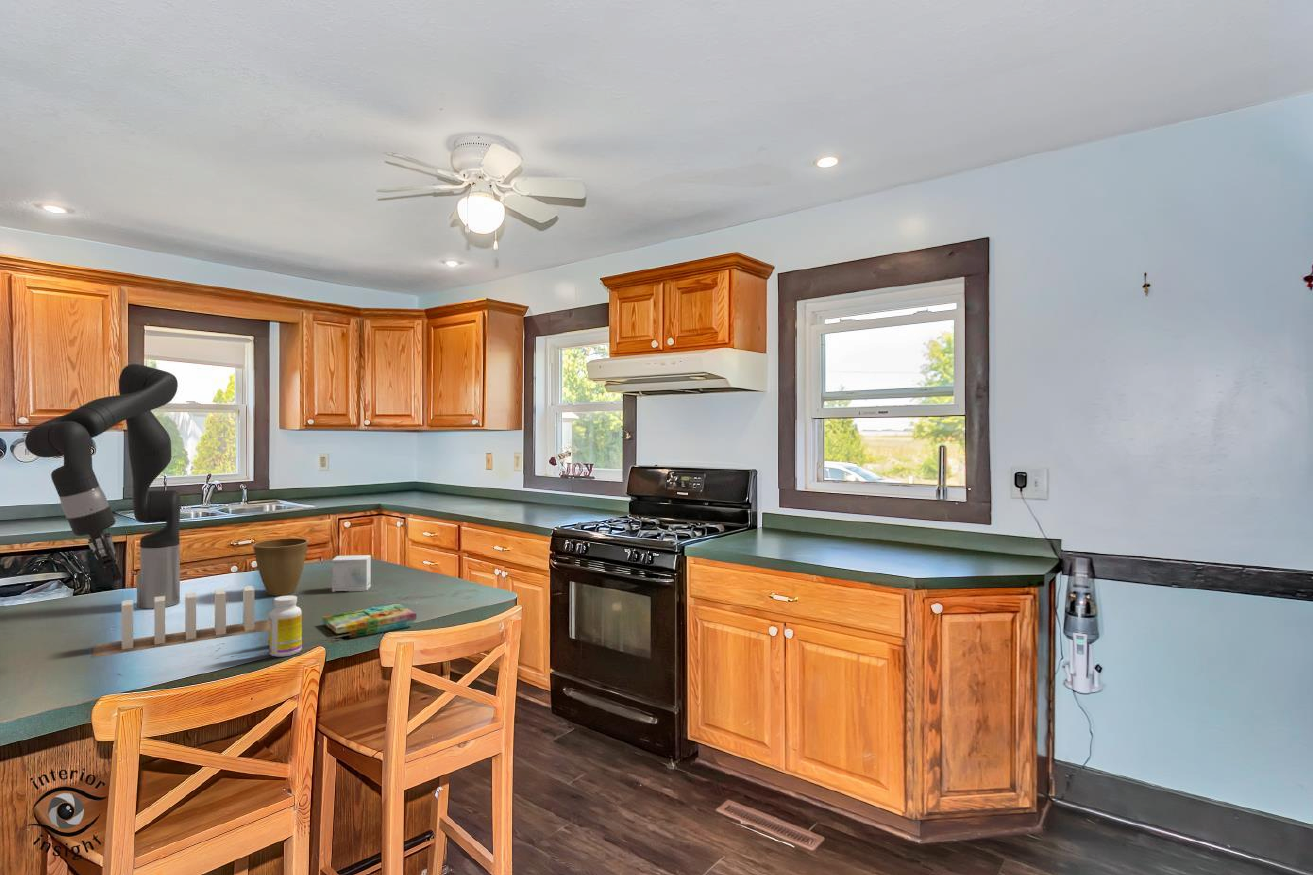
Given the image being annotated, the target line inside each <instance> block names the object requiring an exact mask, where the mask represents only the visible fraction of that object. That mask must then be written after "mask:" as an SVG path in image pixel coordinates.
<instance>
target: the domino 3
mask: <svg viewBox="0 0 1313 875" xmlns="http://www.w3.org/2000/svg"><path fill="white" fill-rule="evenodd" d="M184 594H185V595H184V596H185V598H184V599H185V600H184V603H185V605H184V606H185V607H184V608H185V611H184V612H185V614H184V615H185V619H184V621H185V622H184V624H185V630H184V632H185V635H186V640H188V639H195V638H196V630H197V593H196V592H188V593H184Z"/></svg>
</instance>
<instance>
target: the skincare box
mask: <svg viewBox="0 0 1313 875" xmlns="http://www.w3.org/2000/svg"><path fill="white" fill-rule="evenodd" d="M371 563H372V555H370V554H367V555H366V554H365V555H363V554H360V555H359V554H358V555H355V554H354V555H336V556H335V557H334V558H332V560H331V592H332V593H336V592H335V591H349V592H367V591H368V590H369V589H370V587H371V586H372V583H371V572H372V571H371V570H372V564H371ZM366 590H367V591H366Z"/></svg>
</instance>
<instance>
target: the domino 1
mask: <svg viewBox="0 0 1313 875" xmlns="http://www.w3.org/2000/svg"><path fill="white" fill-rule="evenodd" d="M133 639H134V599H128V600H127V599H126V600H122V601H121V641H122V649H128V648H133Z"/></svg>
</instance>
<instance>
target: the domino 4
mask: <svg viewBox="0 0 1313 875" xmlns="http://www.w3.org/2000/svg"><path fill="white" fill-rule="evenodd" d="M226 626H227V593H226V590H225V589H223V588H222V589H215V590H214V627H215V632H216V635H221V634H226Z"/></svg>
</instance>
